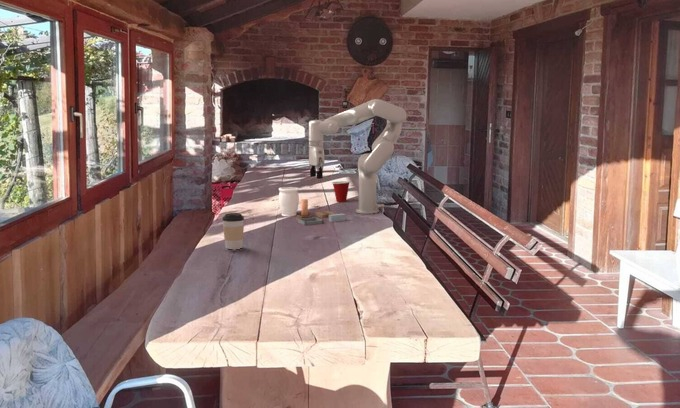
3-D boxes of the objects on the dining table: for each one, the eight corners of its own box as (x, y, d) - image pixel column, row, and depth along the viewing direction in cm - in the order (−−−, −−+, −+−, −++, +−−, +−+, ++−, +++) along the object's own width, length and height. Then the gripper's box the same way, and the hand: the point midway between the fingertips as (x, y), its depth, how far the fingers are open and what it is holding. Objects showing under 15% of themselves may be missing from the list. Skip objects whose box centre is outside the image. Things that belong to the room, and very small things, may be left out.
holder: (308, 219, 347) (308, 213, 347) (315, 221, 340) (315, 216, 340) (294, 220, 344) (294, 214, 343) (300, 223, 337) (300, 217, 336)
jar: (296, 218, 348) (295, 189, 346) (276, 218, 351) (276, 189, 348) (301, 214, 359) (300, 186, 356) (282, 214, 361) (282, 186, 358)
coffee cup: (224, 246, 290) (223, 211, 287) (245, 245, 291) (244, 211, 288) (222, 251, 281) (221, 215, 278) (244, 250, 282) (243, 215, 279)
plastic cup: (338, 199, 407) (338, 179, 405) (353, 201, 401) (353, 181, 399) (328, 201, 398) (328, 181, 396) (343, 203, 392) (343, 183, 390)
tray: (315, 222, 340) (315, 217, 339) (323, 225, 332) (323, 220, 331) (297, 223, 335) (297, 219, 335) (304, 227, 327) (304, 222, 327)
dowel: (306, 218, 344) (306, 199, 342) (309, 219, 341) (308, 200, 339) (300, 219, 342) (300, 199, 341) (303, 220, 340) (302, 200, 338)
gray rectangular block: (342, 221, 342) (342, 213, 341) (345, 222, 339) (345, 214, 338) (328, 222, 338) (328, 214, 337) (331, 223, 335) (331, 215, 335)
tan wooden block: (329, 216, 356) (328, 210, 356) (335, 219, 349) (335, 213, 349) (315, 217, 353) (315, 212, 352) (321, 220, 346) (321, 214, 345)
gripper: (329, 144, 347) (330, 179, 350) (315, 142, 362) (315, 175, 365) (316, 145, 344) (316, 180, 347) (302, 143, 359) (303, 176, 362)
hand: (316, 177), depth 356 cm, fingers open, 7 cm apart
